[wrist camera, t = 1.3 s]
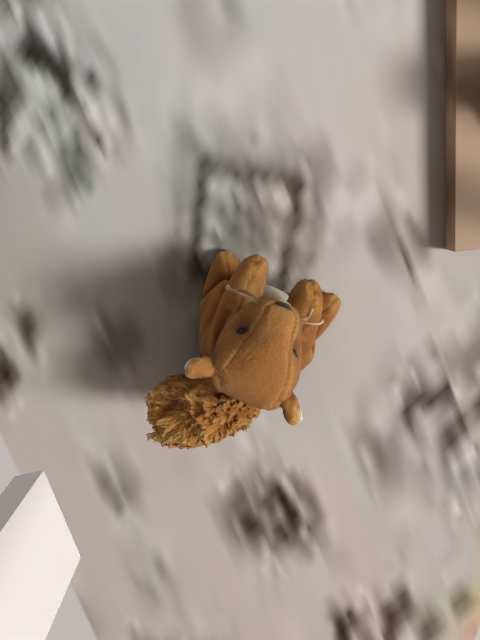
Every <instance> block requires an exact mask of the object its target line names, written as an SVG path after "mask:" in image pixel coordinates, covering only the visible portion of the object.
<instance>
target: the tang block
mask: <svg viewBox="0 0 480 640" xmlns="http://www.w3.org/2000/svg"><path fill="white" fill-rule="evenodd" d="M446 249H447V250H451V251H455V252H457V251H465V250H473V249H480V0H446Z"/></svg>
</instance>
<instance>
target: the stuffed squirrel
mask: <svg viewBox="0 0 480 640" xmlns="http://www.w3.org/2000/svg"><path fill="white" fill-rule="evenodd" d="M267 273H268V262H267V260H266V259H265V258H263V257H261V256H260V255H258V254H256V255H252V256H249V257H247V258H246V259H244V260H243V261H242V262H241V263H240V261H239V260H238V258H237V257H236V256H235V255H234V254H233V253H232V252H231V251H230V250H225V251H220V252H219V253H218V254H217V255H216V257H215V259H214V260H213V263H212V265H211V267H210V270H209V273H208V276H207V279H206V282H205V285H204V289H203V292H202V297H201V300H200V303H199V351H200V355H201V357H196V358H192V359H190V360H188V361H187V363H186V364H185V366H184V370H185V374H178V375H175V376H167V378H166V380H165V381H163V382H160V384H158V385H157V386H156V387H155V388H153V389H152V390H150V391H149V392H148V394H149V395H148V397H146V398H144V399H145V400H146V405H147V406H148V413H147V414H148V417H147V418H148V419H147V421H149V420H150V421H149V424H152V425H154V426H153V427H152V428H153V429H154V431H155V432H153V433H148V434H146V435H147V436H148V438H147V439H148V440H150V439H153V440H155V441H154V443H156V442H160V443H161V446H162V447H165V446H168V447H169V448H174V447H178V448H180V449H183V448H185V447H187V449H190V448H195V447H197V446H198V447H201V446H203V445H205V446H206V447H208V446H209V445H210V444H211V443H217V442H218V443H219V441H222V440H223V439H224V438H226V437H227V436H228V435H229V436H233V437H234V436H235V434H236V431H237V430H238V431H239V430H243V431H244V428H245V430H246V432H247V429H248V427H250V426H249V425H250V424H251V423H252V419H253V418H256V417H258V415H260V409H265V410H275V409H277V408H279V407H282V409H283V414H284V418H285V419H286V421H287V422H288V423H289V424H290V425H294V426H295V425H297V424H299V423H301V421H302V419H303V417H302V412H301V409H300V406H299V403H298V400H297V398H296V396H295V395H294V394H293V389H294V388H295V386H296V384H297V382H298V379H299V375H300V371H301V370H302V369H304V368H305V367H306V366H307V365H308V364H309V363H310V362H311V361H312V359H313V357H314V352H315V340H316V339H317V338H318V337H319V336H320V335H321V334H322V333H323V332H324V331H325V330H326V329H327V327H328V326H329V325H330V323H331V322H332V320H333V319H334V317H335V315H336V314H337V312H338V310H339V307H340V305H341V301H340V299H339V298H338V297H337V295H335V294H333V293H323V294H322V291H321V288H320V286H319V284H318V283H317V282H316V281H315V280H312V279H310V280H307V279H303V280H301V281H299V282H298V283H297V284H296V285H295V286H294V288H293V289H292V291H291V293H290V295H289V296H288V295H287V294H286V293H284V292H283V291H281V290H279V289H277V288H274V287H272V286H269V285H266V280H267Z"/></svg>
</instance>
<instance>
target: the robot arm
mask: <svg viewBox="0 0 480 640" xmlns="http://www.w3.org/2000/svg"><path fill="white" fill-rule="evenodd" d="M80 558H81V557H80V554H79V552H78V550H77V547H76V545H75V543H74V540H73V538H72V536H71V533H70V531H69V529H68V526H67V524H66V522H65V519H64V517H63V515H62V512H61V510H60V508H59V505H58V503H57V501H56V498H55V496H54V494H53V491H52V489H51V487H50V484H49V482H48V480H47V477H46V475H45V473H44V470H42V471H38V472H33V473H29V474H24V475H20V476H16V477H14V478H13V480H12V481H11V482H10V484H9V485H8V486H7V487H6V488H5V490H4V491H3V492H2V494H1V495H0V640H45V639H46V637H47V634H48V632H49V630H50V627H51V625H52V622H53V620H54V618H55V616H56V613H57V611H58V609H59V606H60V604H61V602H62V599H63V597H64V595H65V592H66V590H67V588H68V586H69V583H70V581H71V579H72V576H73V574H74V572H75V569H76V567H77V565H78V562H79V560H80Z"/></svg>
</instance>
